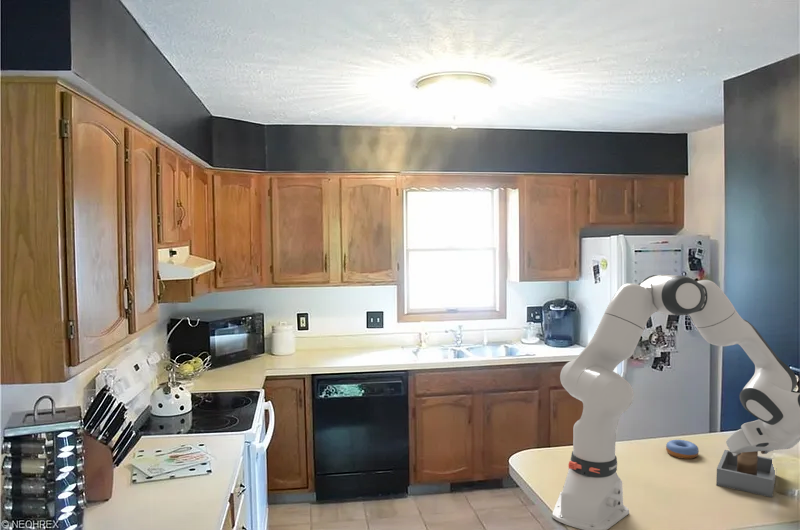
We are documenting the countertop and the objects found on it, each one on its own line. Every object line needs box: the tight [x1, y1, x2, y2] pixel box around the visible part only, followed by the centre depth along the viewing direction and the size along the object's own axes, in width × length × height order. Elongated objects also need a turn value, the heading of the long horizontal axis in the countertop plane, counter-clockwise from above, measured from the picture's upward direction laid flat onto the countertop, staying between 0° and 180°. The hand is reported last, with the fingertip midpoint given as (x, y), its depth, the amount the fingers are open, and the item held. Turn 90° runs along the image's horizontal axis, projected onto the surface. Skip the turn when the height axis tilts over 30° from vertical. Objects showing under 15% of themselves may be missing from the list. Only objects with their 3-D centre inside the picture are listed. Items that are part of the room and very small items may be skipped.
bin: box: [715, 449, 776, 498], centre depth 175 cm, size 18×14×5 cm
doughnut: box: [665, 439, 700, 460], centre depth 195 cm, size 10×10×5 cm
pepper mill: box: [737, 451, 759, 476], centre depth 174 cm, size 5×5×11 cm
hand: (748, 452), depth 174 cm, fingers open, 8 cm apart
